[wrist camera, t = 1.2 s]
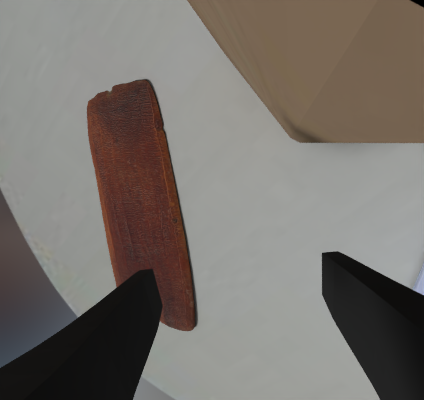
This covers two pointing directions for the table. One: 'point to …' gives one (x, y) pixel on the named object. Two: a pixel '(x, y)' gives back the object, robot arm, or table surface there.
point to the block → (329, 64)
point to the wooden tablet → (140, 196)
